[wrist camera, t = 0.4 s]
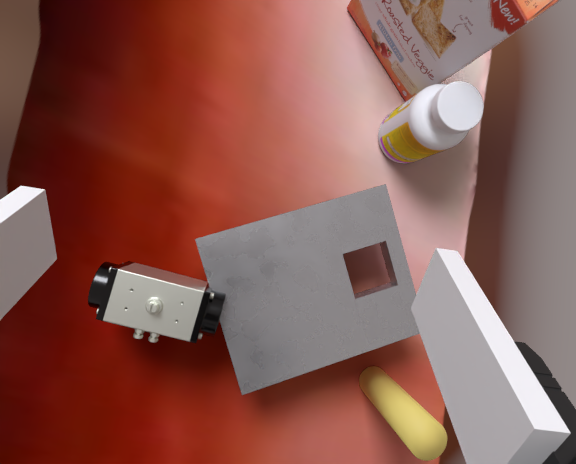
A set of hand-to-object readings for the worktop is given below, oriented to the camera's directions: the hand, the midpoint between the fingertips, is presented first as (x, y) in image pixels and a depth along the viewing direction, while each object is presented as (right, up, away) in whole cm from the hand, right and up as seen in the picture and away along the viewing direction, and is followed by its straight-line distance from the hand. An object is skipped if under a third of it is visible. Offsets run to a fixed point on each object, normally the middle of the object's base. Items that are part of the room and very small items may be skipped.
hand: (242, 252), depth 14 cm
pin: (+12, -18, +36) cm, 42 cm away
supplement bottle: (+16, +13, +36) cm, 41 cm away
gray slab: (+3, -5, +34) cm, 35 cm away
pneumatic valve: (-12, -6, +32) cm, 35 cm away
